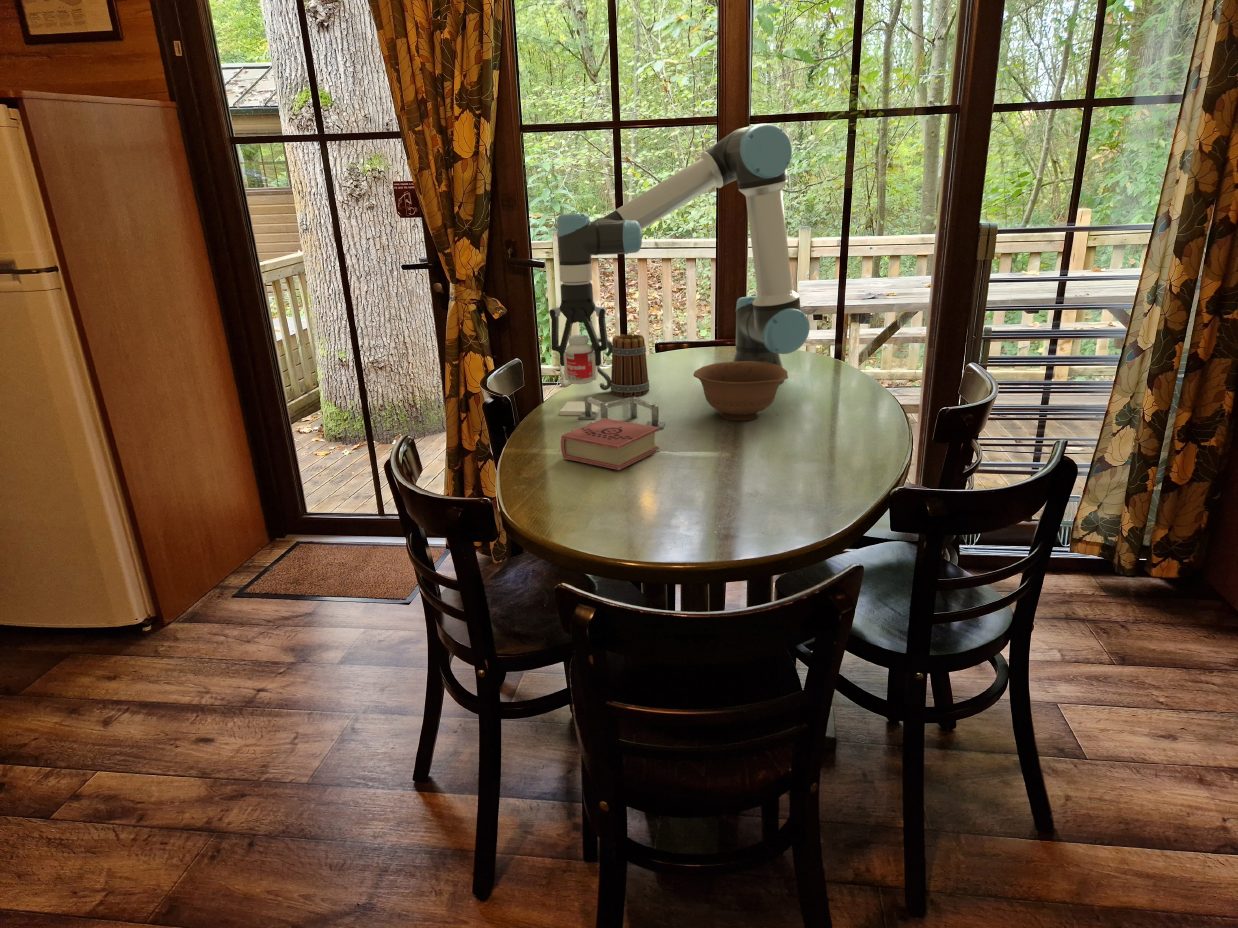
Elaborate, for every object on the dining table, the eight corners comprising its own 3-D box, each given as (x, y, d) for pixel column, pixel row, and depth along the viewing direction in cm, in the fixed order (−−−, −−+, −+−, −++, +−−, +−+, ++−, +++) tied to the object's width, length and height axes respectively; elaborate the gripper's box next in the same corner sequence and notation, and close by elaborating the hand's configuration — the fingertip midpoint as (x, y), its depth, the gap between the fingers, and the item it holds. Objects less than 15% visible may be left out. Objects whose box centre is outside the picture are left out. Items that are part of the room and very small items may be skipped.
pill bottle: (563, 383, 190) (560, 338, 186) (574, 378, 195) (572, 333, 191) (586, 385, 187) (584, 339, 184) (597, 379, 193) (595, 334, 189)
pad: (602, 405, 199) (602, 401, 199) (596, 415, 191) (595, 411, 190) (568, 405, 201) (567, 401, 200) (559, 415, 192) (559, 411, 192)
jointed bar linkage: (667, 415, 188) (667, 395, 187) (663, 429, 178) (662, 407, 177) (582, 414, 192) (581, 394, 190) (572, 427, 182) (571, 407, 180)
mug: (650, 387, 215) (649, 333, 210) (648, 397, 206) (647, 340, 200) (594, 388, 217) (592, 333, 212) (589, 397, 207) (586, 341, 202)
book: (601, 439, 174) (600, 417, 172) (659, 450, 165) (658, 427, 164) (559, 457, 163) (558, 434, 162) (619, 470, 155) (618, 446, 153)
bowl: (804, 412, 187) (806, 367, 183) (752, 435, 172) (753, 386, 168) (728, 398, 201) (729, 356, 198) (674, 418, 186) (673, 373, 183)
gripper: (618, 280, 186) (622, 375, 194) (540, 281, 189) (547, 375, 197) (614, 283, 179) (617, 382, 187) (532, 285, 182) (539, 382, 190)
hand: (581, 378), depth 192 cm, fingers closed on pill bottle, 6 cm apart
